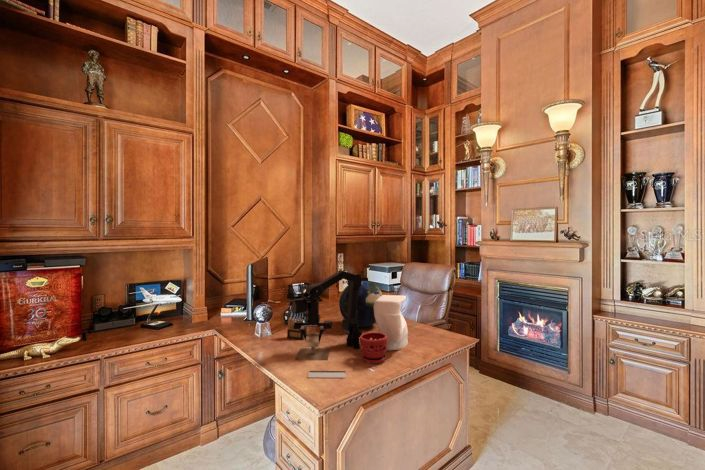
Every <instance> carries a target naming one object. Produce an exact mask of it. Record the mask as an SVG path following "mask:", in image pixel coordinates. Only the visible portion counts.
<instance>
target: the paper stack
mask: <svg viewBox="0 0 705 470" xmlns="http://www.w3.org/2000/svg"><path fill="white" fill-rule="evenodd" d="M406 298H407V296H406V295H401V294H400V295H398V294H395V295H394V294H383V295H382V296H380V297H379V298H378V299H377V300H376V301H375V303H374V317H375V320H376V323H375V324H376V326H377V333H383V334H385V335H386V336H387V349H386V351H399V350H402V349H404V348H405V347H406V346H408V344H409V341H408V335H409V330H408V329H409V328H408V325H407V321H406V319H405V318H404V317H405V316H404V315H403V313H402V312H401V307H402V305H403V303H404V301H405V299H406ZM379 339H380V338H379Z"/></svg>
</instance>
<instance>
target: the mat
mask: <svg viewBox="0 0 705 470" xmlns="http://www.w3.org/2000/svg"><path fill="white" fill-rule="evenodd" d="M346 374H347V373H346V370H310V371H308V375H307V379H346Z"/></svg>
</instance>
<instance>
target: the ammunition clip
mask: <svg viewBox="0 0 705 470" xmlns="http://www.w3.org/2000/svg"><path fill="white" fill-rule="evenodd" d="M296 321H303V322H304V319H303V318H302V319H301V318H299V319H298V318H295V317H294V318H293V317H291V318H290V317H288V322H287V333H286V338H288V339H291V338H293V339H292V340H301V341H304V340H305V338H304V335H303V334H302V332H301V331H299V329H294V323H295V322H296Z"/></svg>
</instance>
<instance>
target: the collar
mask: <svg viewBox="0 0 705 470" xmlns="http://www.w3.org/2000/svg"><path fill="white" fill-rule="evenodd" d="M320 343H321V341H320V342H319V332H308V333H307V336H306V340H305V345H306V346H305V348H311V347H315V348H320V347H319V346H320Z"/></svg>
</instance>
